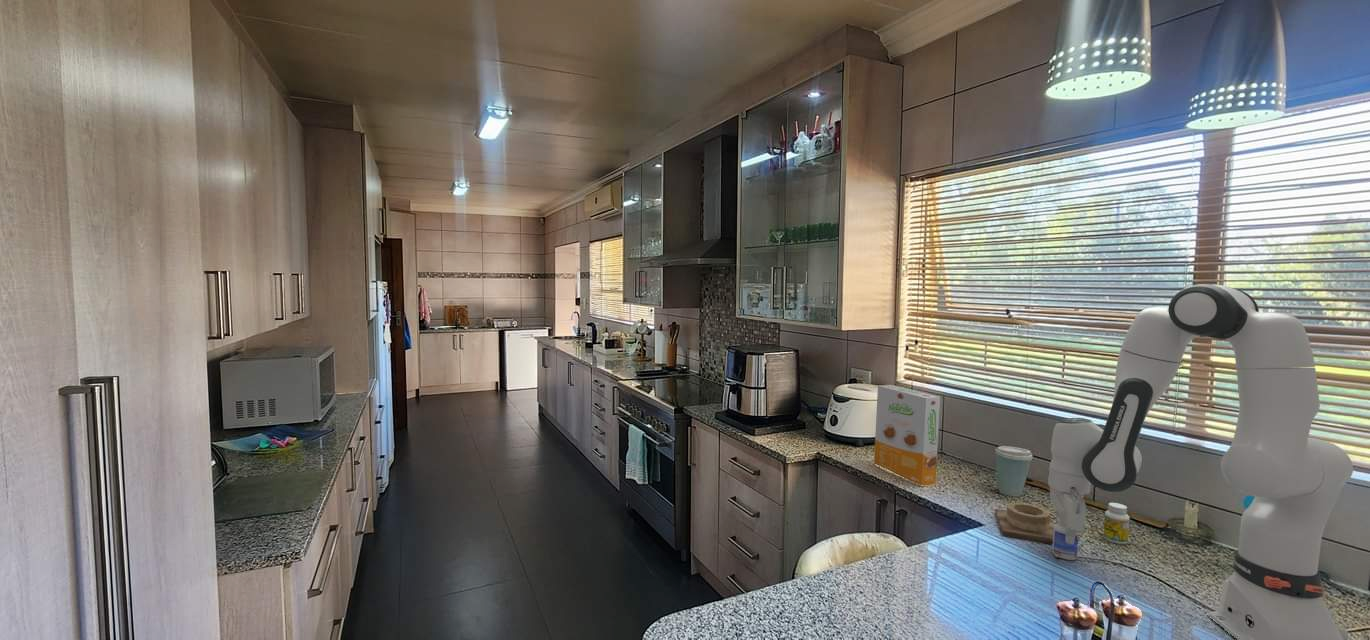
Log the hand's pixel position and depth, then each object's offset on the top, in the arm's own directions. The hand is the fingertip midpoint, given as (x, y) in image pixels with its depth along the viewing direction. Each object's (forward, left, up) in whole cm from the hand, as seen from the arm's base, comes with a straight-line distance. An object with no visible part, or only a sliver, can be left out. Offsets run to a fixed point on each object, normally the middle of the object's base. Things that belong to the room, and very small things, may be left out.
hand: (1064, 534), depth 145 cm
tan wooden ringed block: (+13, +6, -5) cm, 16 cm away
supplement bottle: (+15, -15, -5) cm, 22 cm away
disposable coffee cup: (+42, +6, -5) cm, 43 cm away
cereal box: (+46, +39, -5) cm, 60 cm away
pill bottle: (-1, 0, -5) cm, 5 cm away
